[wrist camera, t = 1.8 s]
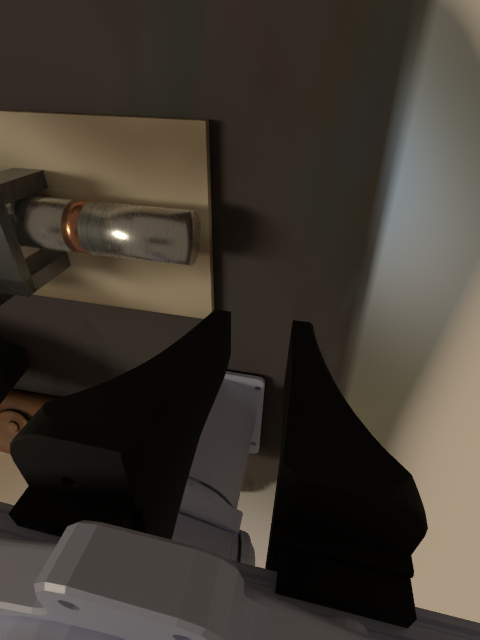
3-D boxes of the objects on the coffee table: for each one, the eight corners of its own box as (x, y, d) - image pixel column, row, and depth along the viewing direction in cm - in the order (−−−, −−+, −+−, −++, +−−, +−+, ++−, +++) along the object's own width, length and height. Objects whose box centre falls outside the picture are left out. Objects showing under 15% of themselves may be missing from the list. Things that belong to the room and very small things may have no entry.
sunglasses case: (103, 398, 33) (78, 474, 30) (133, 412, 39) (114, 475, 37) (-53, 373, 36) (-88, 440, 34) (-2, 389, 42) (-28, 446, 40)
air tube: (199, 261, 21) (182, 270, 18) (25, 241, 23) (-15, 246, 20) (201, 210, 20) (184, 210, 17) (20, 193, 22) (-23, 191, 19)
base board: (214, 315, 24) (211, 319, 24) (-50, 278, 28) (-56, 281, 27) (208, 119, 18) (205, 120, 17) (-141, 103, 21) (-152, 103, 21)
